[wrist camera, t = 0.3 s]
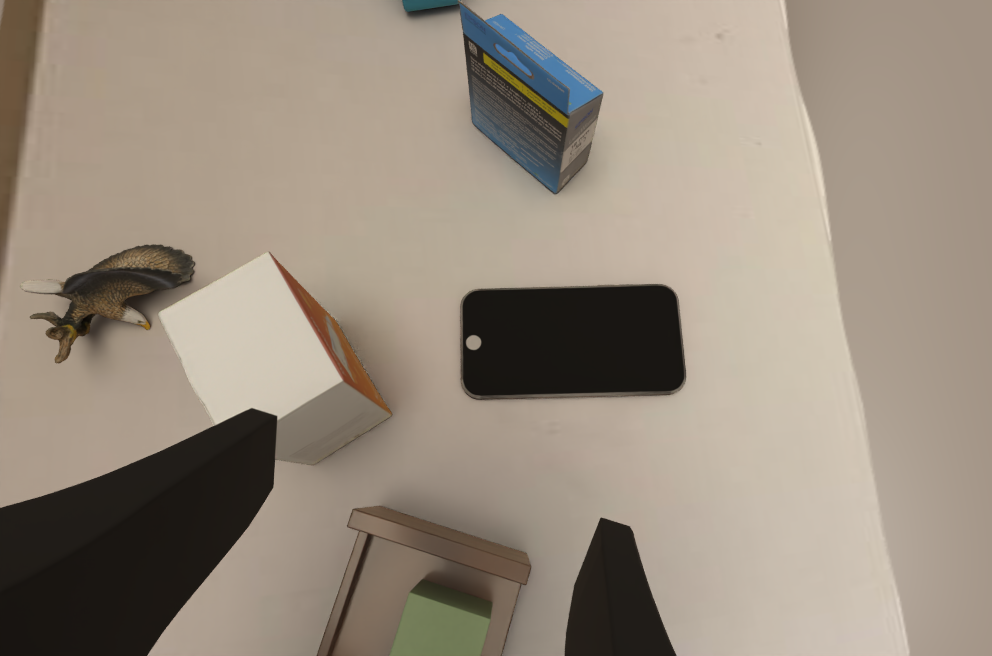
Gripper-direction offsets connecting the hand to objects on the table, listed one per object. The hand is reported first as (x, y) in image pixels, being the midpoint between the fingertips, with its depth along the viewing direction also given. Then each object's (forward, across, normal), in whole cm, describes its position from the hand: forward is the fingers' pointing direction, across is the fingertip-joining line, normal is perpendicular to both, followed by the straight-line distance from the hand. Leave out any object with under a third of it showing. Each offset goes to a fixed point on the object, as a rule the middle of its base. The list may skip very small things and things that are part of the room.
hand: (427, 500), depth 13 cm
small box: (+24, +12, +16) cm, 31 cm away
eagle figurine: (+25, +27, +14) cm, 39 cm away
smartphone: (+29, -3, +10) cm, 30 cm away
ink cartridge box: (+38, +4, -1) cm, 38 cm away
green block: (+14, 0, +23) cm, 27 cm away
